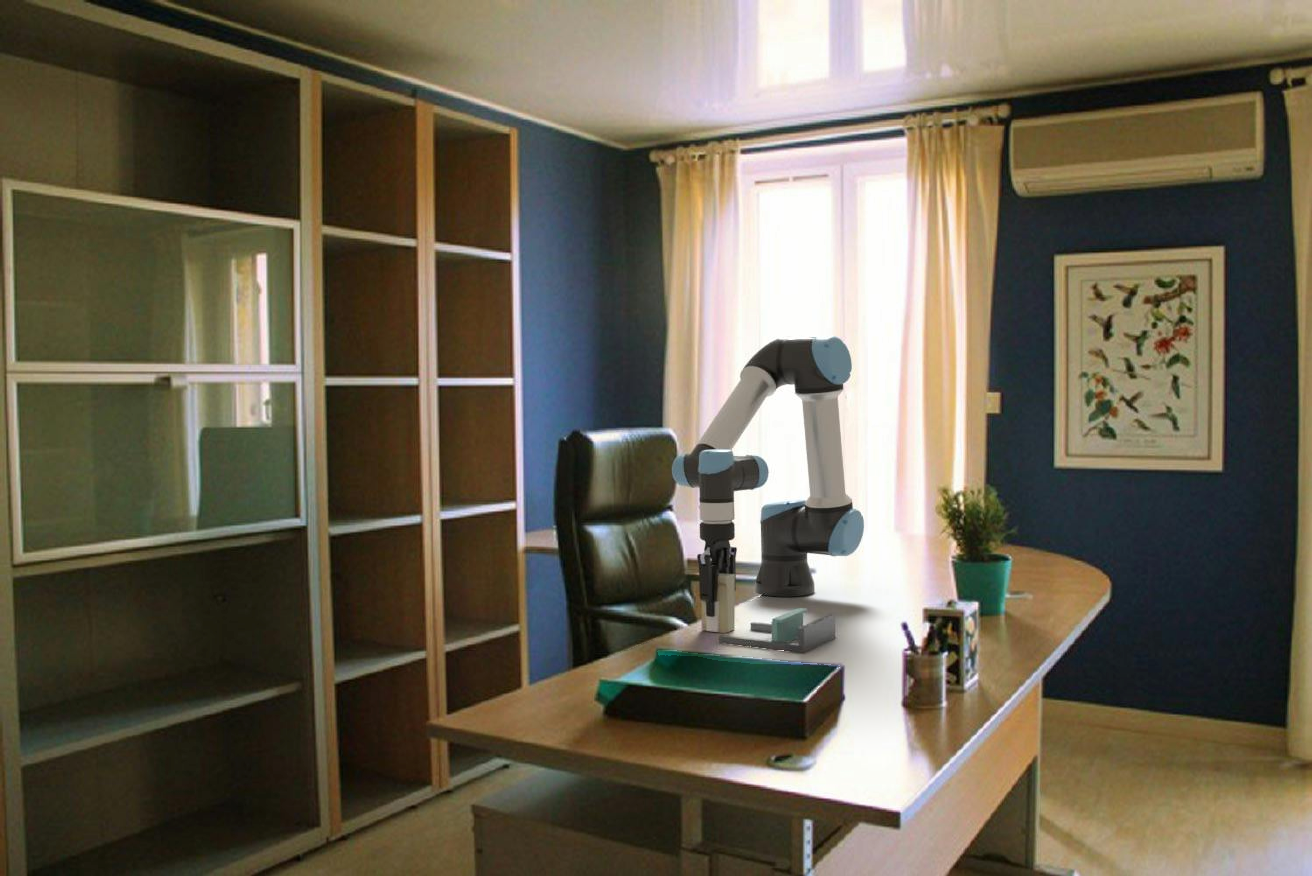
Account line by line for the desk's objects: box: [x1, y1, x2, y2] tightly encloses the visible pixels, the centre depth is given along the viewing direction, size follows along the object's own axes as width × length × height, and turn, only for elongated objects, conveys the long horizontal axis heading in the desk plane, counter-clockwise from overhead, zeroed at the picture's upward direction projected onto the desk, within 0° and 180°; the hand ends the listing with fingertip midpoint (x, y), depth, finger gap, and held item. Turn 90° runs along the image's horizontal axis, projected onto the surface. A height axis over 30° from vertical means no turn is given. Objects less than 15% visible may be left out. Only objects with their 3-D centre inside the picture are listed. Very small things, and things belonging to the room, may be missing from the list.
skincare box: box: [701, 573, 736, 634], centre depth 243 cm, size 6×4×12 cm
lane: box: [718, 613, 837, 655], centre depth 233 cm, size 15×19×5 cm
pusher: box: [771, 607, 809, 643], centre depth 231 cm, size 12×4×6 cm, turn 148°
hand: (718, 628), depth 243 cm, fingers closed on skincare box, 4 cm apart
